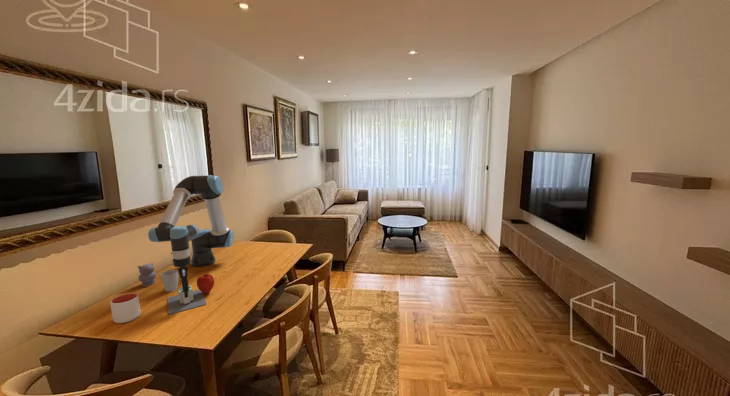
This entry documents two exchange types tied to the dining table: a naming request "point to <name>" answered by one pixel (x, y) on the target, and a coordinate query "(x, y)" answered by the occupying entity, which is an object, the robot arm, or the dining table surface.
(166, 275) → the cup
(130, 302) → the cup
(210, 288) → the apple
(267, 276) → the dining table surface
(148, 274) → the cat figurine
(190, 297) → the pale green block
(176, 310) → the grey piece
